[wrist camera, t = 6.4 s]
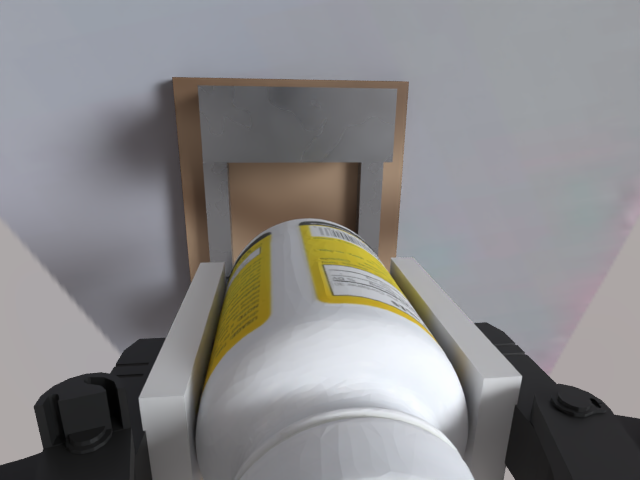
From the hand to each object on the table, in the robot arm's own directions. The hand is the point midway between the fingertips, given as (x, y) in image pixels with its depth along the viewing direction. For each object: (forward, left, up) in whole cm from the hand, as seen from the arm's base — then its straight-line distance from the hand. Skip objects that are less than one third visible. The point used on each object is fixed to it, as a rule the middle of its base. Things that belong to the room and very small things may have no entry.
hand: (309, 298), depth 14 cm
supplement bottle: (0, 0, -1) cm, 1 cm away
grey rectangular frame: (0, 0, -11) cm, 11 cm away
